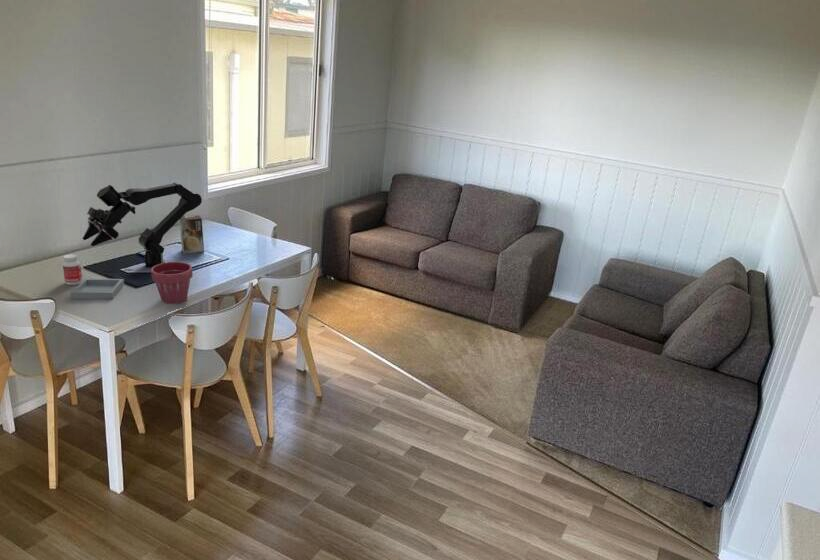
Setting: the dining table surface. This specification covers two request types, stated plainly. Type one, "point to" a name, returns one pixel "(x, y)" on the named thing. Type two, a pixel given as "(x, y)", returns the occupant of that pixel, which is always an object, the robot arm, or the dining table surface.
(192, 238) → the coffee box
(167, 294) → the plant pot
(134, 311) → the dining table surface
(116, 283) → the tray
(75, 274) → the pill bottle
